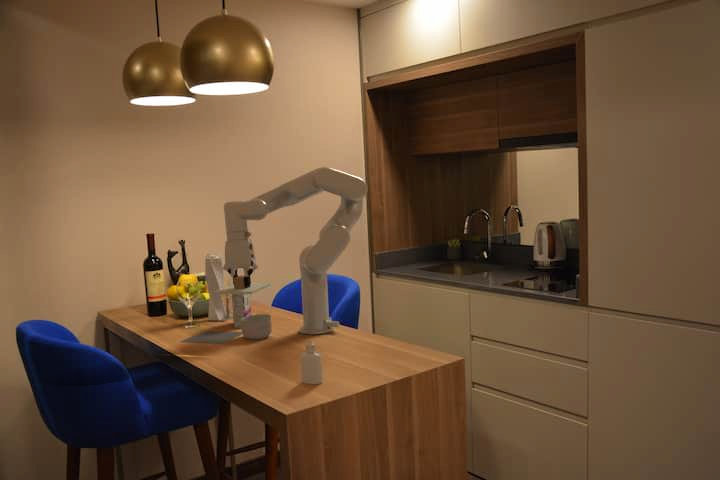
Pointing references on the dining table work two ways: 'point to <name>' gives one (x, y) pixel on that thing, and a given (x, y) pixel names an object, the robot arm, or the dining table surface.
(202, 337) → the mat
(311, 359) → the eye dropper bottle
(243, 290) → the lid
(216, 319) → the skyscraper
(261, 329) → the teacup
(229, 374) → the dining table surface
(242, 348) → the dining table surface
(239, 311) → the candy bar box
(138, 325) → the dining table surface
